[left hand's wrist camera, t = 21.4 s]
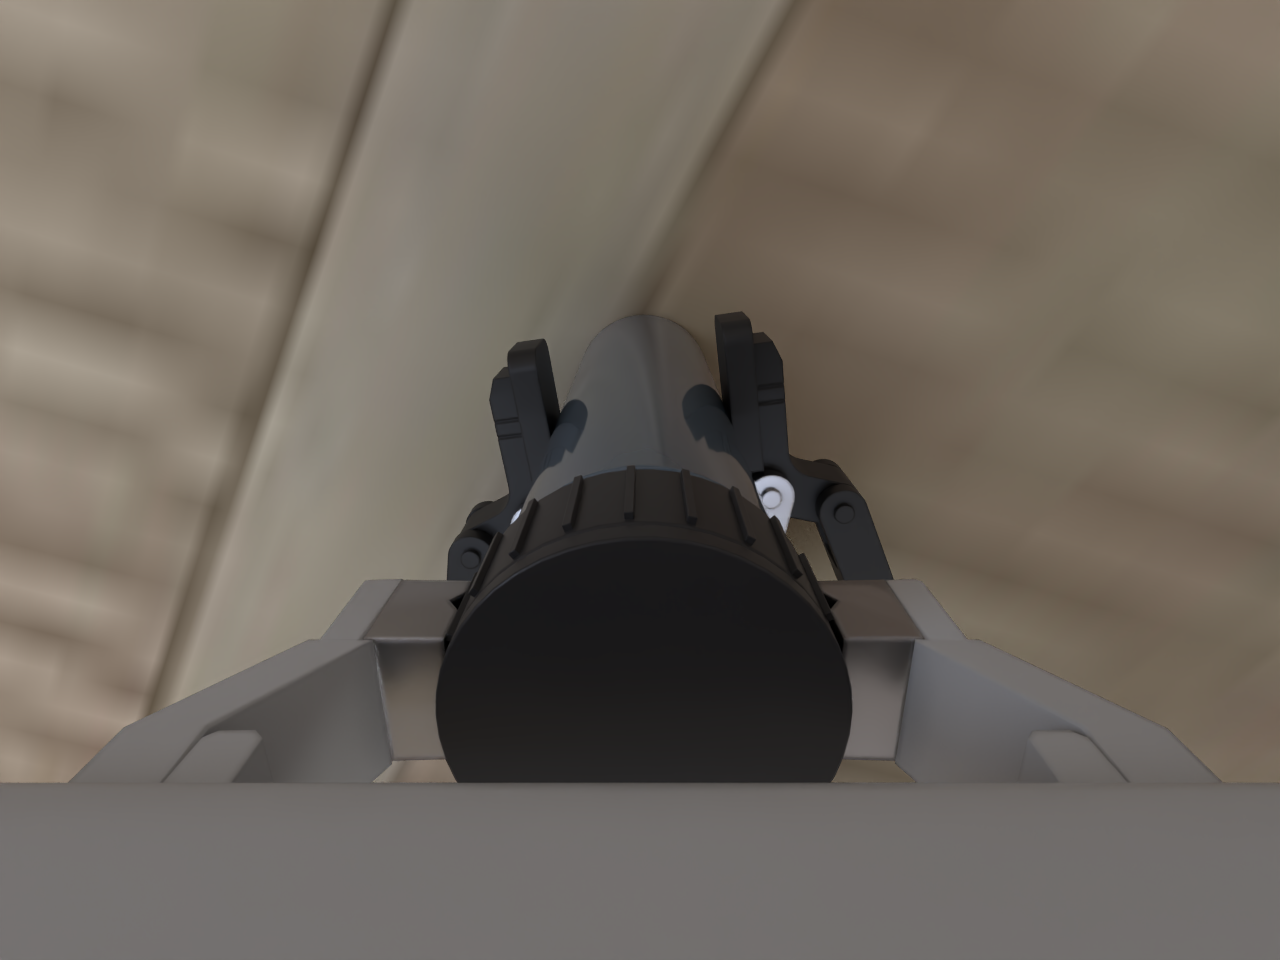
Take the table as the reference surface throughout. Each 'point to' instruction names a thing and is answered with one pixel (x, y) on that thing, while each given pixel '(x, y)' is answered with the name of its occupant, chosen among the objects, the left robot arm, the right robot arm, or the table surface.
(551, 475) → the dark grey cylinder
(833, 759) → the lid
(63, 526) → the table surface
